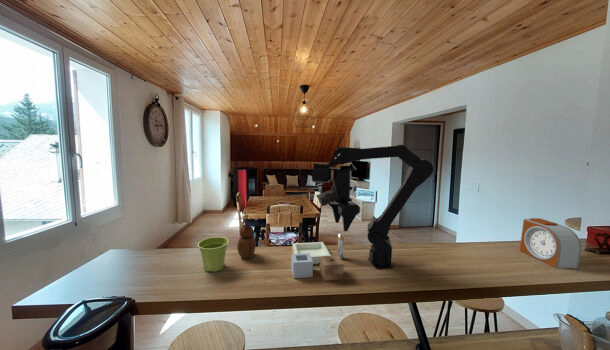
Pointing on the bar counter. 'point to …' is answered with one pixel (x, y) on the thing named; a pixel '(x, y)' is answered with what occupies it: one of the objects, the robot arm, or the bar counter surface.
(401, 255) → the bar counter surface
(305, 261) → the bored block
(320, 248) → the tray
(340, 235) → the cylinder
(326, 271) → the walnut block
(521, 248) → the alarm clock
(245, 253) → the wooden figurine
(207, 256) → the plant pot
